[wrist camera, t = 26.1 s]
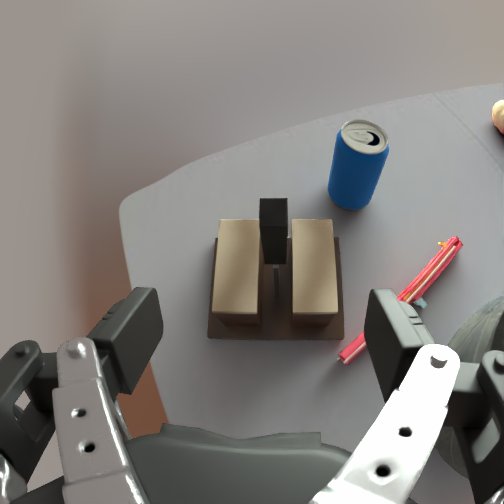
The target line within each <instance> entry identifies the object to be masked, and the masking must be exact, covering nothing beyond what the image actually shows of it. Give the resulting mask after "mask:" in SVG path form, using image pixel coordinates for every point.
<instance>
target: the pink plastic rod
mask: <svg viewBox="0 0 504 504" xmlns="http://www.w3.org/2000/svg"><path fill="white" fill-rule="evenodd" d="M449 243H450V244H449ZM448 244H449V245H448ZM438 245H441V246H442V249H441V250H440V251H439V252H438V253H437V254H436V256H435V257H434V258H433V259H432V260H431V261H430V263H429V264H428V265H427V266H426V267H425V268H424V269H423V270H422V272H421V273H420V274H419V275H418V276H417V277H416V278H415V279H414V280H413V281H412V282H411V283H410V285H409V286H407V287H406V289H405V290H404V291H403V292H402V293H401V294H400V295H399V296H398V297H397V299H398V300H399V301H404V302H406V303H407V304H409V305H410V304H411V303H412V302H413V303H415V305H418V306H420V307H421V308H425V307H426V305H427V303H426V302H424V301H423V300H422V297H421V295H422V294H423V293H424V292H425V291H426V290H427V289H428V288H429V286H430V285H431V284H432V283H433V282H434V281H435V279H436V278H437V277H438V276H439V275H440V273H441V272H442V271H443V270H444V269H445V267H446V266H447V265H448V264H449V262H450V261H451V260H452V259H453V257H454V256H455V255H456V253H457V252H458V251H459V250H460V248H461V247H462V246H463V244H462V243H461V241H460V240H459V238H458V237H457V236H456V237H453V238H450V239H449V240H448V241H447V243H445V242H440V243H438ZM442 251H443V252H442ZM437 257H438V258H437ZM436 258H437V259H436ZM430 265H431V266H430ZM422 274H423V275H422ZM421 275H422V276H421ZM409 288H410V289H409ZM403 294H404V295H403ZM402 295H403V296H402ZM401 296H402V297H401ZM366 347H367V345H366V343H365V338H364V332H363V333H362V334H361V335H359V336H358V337H357V338H356V339H355V340H354V341H353V342H352V343H351V344H350V345H348V346H347V347H346V348H345V349H344V350H343V351H342V352H341V353H339V358H338V359H337V360H338V361H339V360H342V361H343V362H344V364H347V365H348V364H349V363H350V362H351V361H352V360H353V359H355V358H356V357H357V356H358V355H359V354H360V353H361V352H362V351H363V350H364V349H365V348H366Z"/></svg>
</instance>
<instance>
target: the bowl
mask: <svg viewBox="0 0 504 504" xmlns="http://www.w3.org/2000/svg"><path fill="white" fill-rule="evenodd" d="M447 347H448V348H450V349H451V350H453V351H454V352H455V353H456V354H457V355H458V357H459V360H460V362H466V363H477V364H480V363H481V361H482V358H483V356H484V355H485V353H487V352H489V351H493V350H497V351H502V352H504V295H502V296H500V297H498V298H496V299H494V300H493V301H491V302H489V303H488V304H486V305H485V306H483V307H482V308H481V309H480V310H479V311H477V312H476V313H475V314H474V315H473V316H472V317H471V318H470V319H469V320H468V321H467V322H466V323H465V324H464V325H463V326H462V327H461V328H460V329H459V330H458V332H457V333H456V334H455V336H454V337H453V338H452V340H451V341H450V343H449V345H448V346H447ZM492 418H493V420H494V423H495V425H496V427H497V429H498V432H499V434H500V435H501V426H500V423H499V421H498V419H497V417H496V414H495V413H494V415H493V417H492ZM435 445H436V447H437V449H438V452H439V453H440V455H441V456H442V458H443V459H444V460H445V461H446V462H447V463H448V464H449V465H450V466H451V467H452V468H453V469H455V470H456V471H457V472H458V473H459V474H461V475H462V476H464V477H466V478H468V479H469V477H468V474H467V470H466V467H465V463H464V460H463V457H462V454H461V451H460V447H459V444H458V441H457V438H456V435H455V432H454V430H453V427H445V426H442V427H441V429H440V432H439V434H438V437H437V439H436V442H435Z"/></svg>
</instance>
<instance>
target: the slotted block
mask: <svg viewBox="0 0 504 504" xmlns="http://www.w3.org/2000/svg"><path fill="white" fill-rule="evenodd" d="M207 337H208V338H214V339H238V340H342V339H344V312H343V291H342V275H341V261H340V248H339V238H338V237H333V225H332V219H292V228H291V237H288V244H287V264H279V298H275V284H274V270H273V264H264V258H263V251H262V244H261V237H260V230H259V219H255V220H220V223H219V233H218V238H216V240H215V250H214V261H213V272H212V283H211V295H210V308H209V321H208V335H207Z"/></svg>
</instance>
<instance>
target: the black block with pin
mask: <svg viewBox="0 0 504 504" xmlns="http://www.w3.org/2000/svg"><path fill="white" fill-rule="evenodd" d="M259 230H260V237H261V244H262V251H263V258H264V264H273V270H274V284H275V298H279V264H287V244H288V202H287V198H260V210H259Z"/></svg>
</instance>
